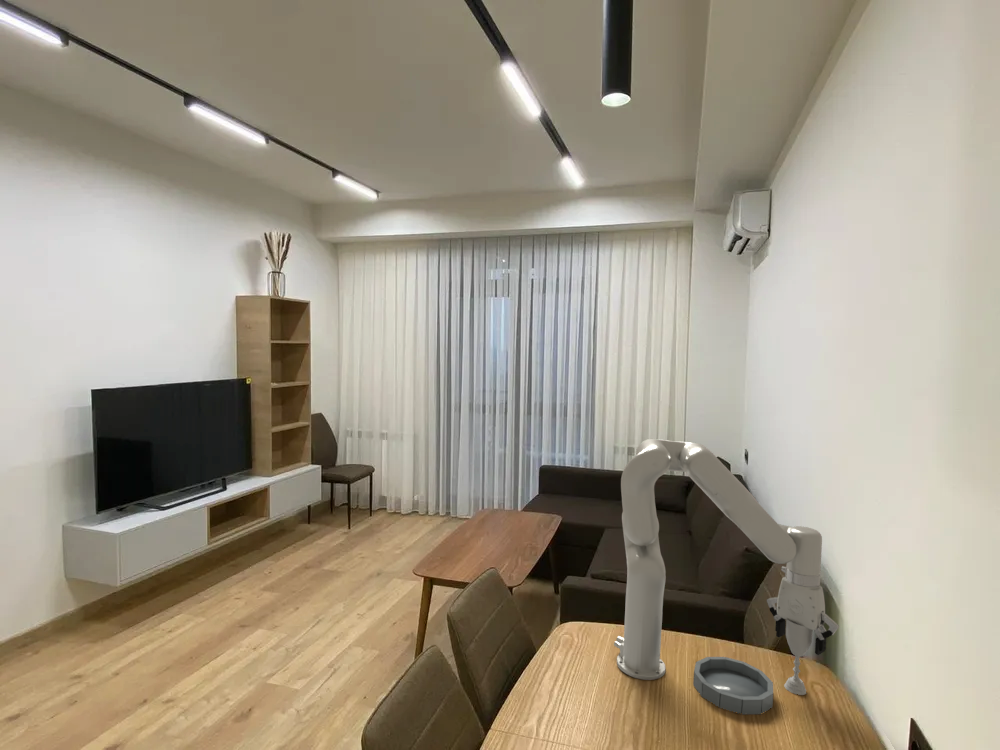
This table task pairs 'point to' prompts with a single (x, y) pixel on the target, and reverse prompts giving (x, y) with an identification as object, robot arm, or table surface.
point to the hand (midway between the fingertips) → (799, 644)
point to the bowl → (733, 685)
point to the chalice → (797, 653)
